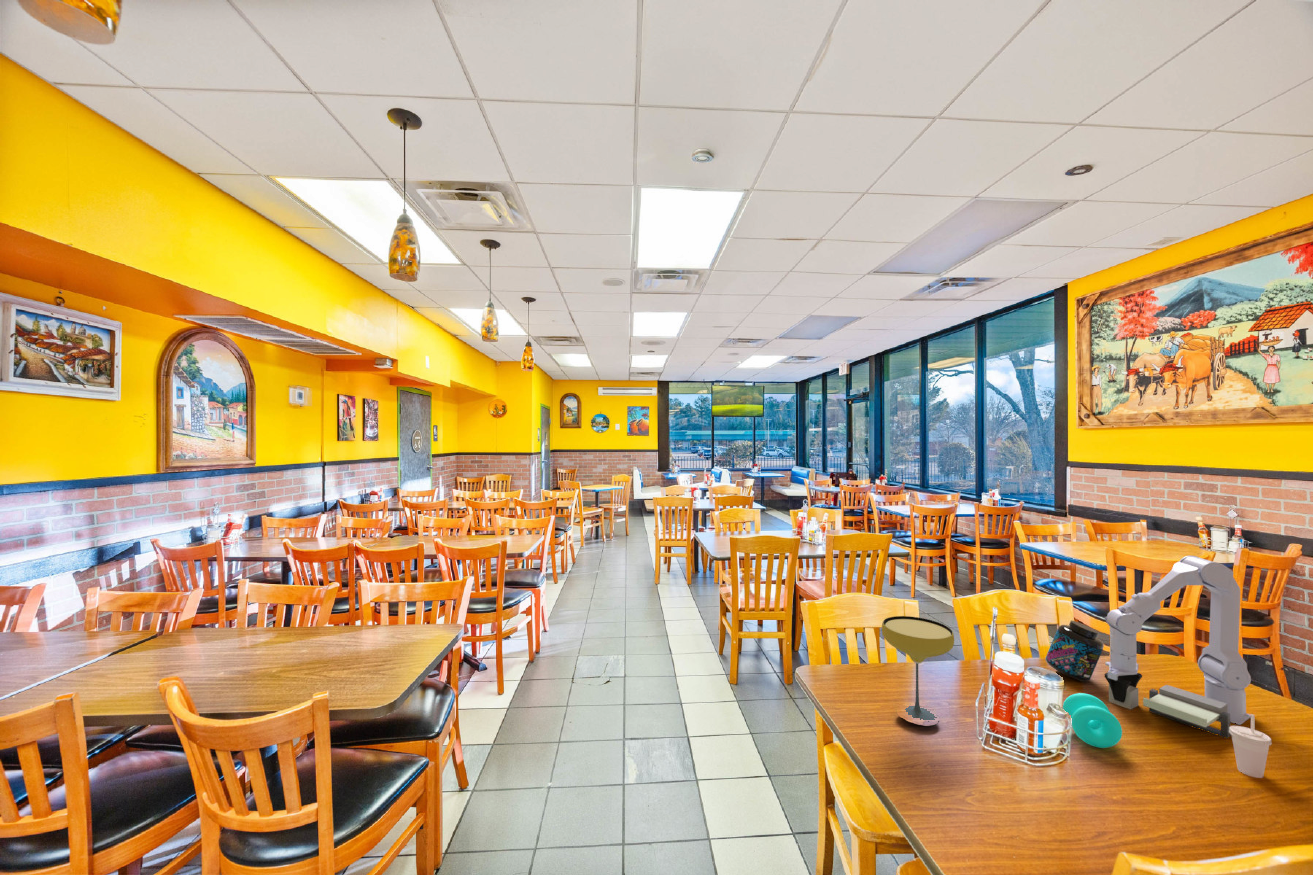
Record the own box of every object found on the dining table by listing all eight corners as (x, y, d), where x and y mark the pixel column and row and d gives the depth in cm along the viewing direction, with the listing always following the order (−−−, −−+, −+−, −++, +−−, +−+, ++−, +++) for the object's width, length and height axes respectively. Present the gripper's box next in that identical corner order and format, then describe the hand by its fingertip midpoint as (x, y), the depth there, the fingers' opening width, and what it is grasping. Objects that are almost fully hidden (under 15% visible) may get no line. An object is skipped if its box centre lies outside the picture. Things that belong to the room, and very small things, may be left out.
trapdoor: (1166, 697, 145) (1166, 684, 145) (1227, 717, 135) (1227, 703, 135) (1143, 710, 138) (1143, 697, 138) (1205, 732, 127) (1205, 718, 127)
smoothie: (1281, 786, 112) (1280, 723, 112) (1246, 782, 114) (1246, 720, 114) (1253, 767, 119) (1253, 708, 119) (1221, 764, 120) (1220, 705, 120)
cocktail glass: (883, 725, 136) (883, 633, 136) (880, 694, 153) (880, 612, 153) (960, 740, 129) (959, 643, 130) (948, 706, 146) (948, 620, 146)
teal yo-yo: (1108, 733, 133) (1108, 695, 133) (1124, 754, 124) (1124, 714, 124) (1061, 724, 137) (1061, 687, 137) (1073, 744, 128) (1073, 705, 128)
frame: (1152, 709, 145) (1152, 688, 145) (1230, 736, 131) (1230, 713, 131) (1149, 711, 143) (1149, 690, 144) (1227, 739, 130) (1227, 716, 130)
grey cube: (1116, 697, 151) (1116, 680, 151) (1138, 705, 147) (1138, 688, 147) (1108, 701, 149) (1108, 684, 149) (1130, 709, 144) (1130, 692, 145)
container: (1084, 674, 168) (1104, 629, 165) (1091, 689, 157) (1113, 642, 155) (1041, 655, 174) (1060, 612, 171) (1046, 668, 163) (1065, 623, 161)
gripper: (1117, 642, 155) (1117, 686, 155) (1094, 652, 148) (1094, 698, 148) (1147, 651, 149) (1147, 697, 149) (1125, 661, 142) (1125, 709, 142)
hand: (1123, 698), depth 148 cm, fingers closed on grey cube, 5 cm apart
